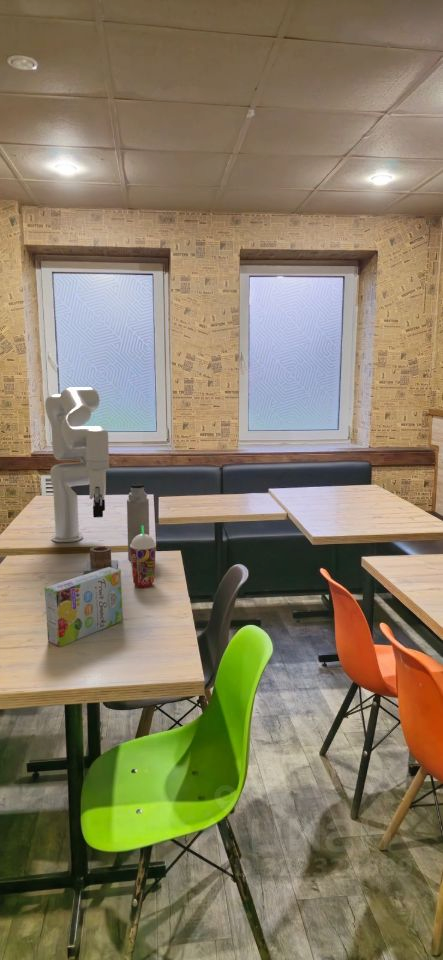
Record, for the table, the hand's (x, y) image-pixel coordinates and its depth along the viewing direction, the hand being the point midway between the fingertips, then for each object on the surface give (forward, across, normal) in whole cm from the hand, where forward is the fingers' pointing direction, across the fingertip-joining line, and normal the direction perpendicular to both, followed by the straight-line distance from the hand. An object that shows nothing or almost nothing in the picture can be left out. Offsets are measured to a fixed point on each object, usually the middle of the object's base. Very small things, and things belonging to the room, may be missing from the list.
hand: (99, 513), depth 209 cm
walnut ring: (+19, 0, 0) cm, 19 cm away
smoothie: (+20, +18, +15) cm, 31 cm away
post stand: (+20, 0, 0) cm, 20 cm away
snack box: (+20, +52, 0) cm, 56 cm away
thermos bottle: (+20, -12, +13) cm, 27 cm away
